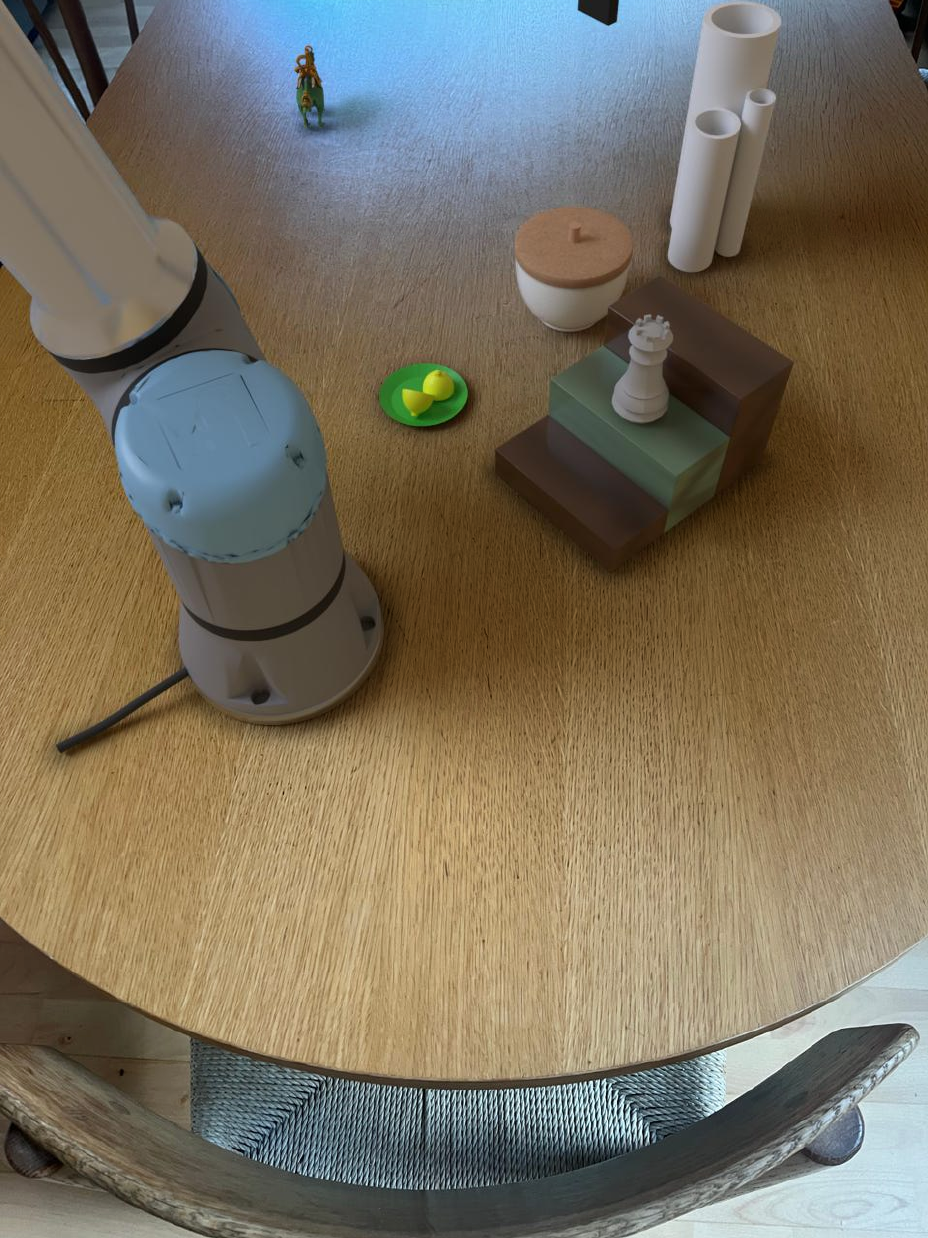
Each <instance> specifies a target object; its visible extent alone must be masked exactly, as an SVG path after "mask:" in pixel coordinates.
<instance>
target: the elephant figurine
mask: <svg viewBox="0 0 928 1238" xmlns="http://www.w3.org/2000/svg"><path fill="white" fill-rule="evenodd" d="M313 50H314V48H313V46H311V45H310V44H307V45H305V46H304V54H300V55H298V56H297V57H296V59H295V63H296V64H297V66H295V67H294V72H295V73H296V74H297V75H298V74H299V75H298V76H297V83H296V88H295V89H296V92H295V93H296V95H295V98H296V104H297V108H298V109H299V110H298V111H299V113H300V114H301V116H302V118H303V126H304V127H305V128H306V130H309V127H310V126H311V125H312V122H309V119H308V118H307V113H312V111H313V108H315V109H316V112H317V119H318V121H317V125H318V128H319V130H321V129H322V127H325V125H326V122H323V121H322V117H323V113H324V111H326V108H325V94H324V87H323V85H322V83H323V80H322V78H321V77H320V76H319V73H318V70H317V66H316V65H315V61H316V59H315V52H314V51H313ZM301 60H305V63H303V64H301V62H300V61H301Z"/></svg>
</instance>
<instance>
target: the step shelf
mask: <svg viewBox="0 0 928 1238" xmlns="http://www.w3.org/2000/svg"><path fill="white" fill-rule="evenodd" d="M650 314H651V320H656V317H657V315H659V316H661V317H664V318H663V323H664V322H667V321H668V322H669V325H670V328H669V329H670V330H671V332H672V334H673V341H672V343H671V344H670V345H669V347H668V348H666V351H667V357H666V358H665V360H664V361H663V363H662V376H663V378H664V380H665V383H666V385H667V387H668V390H669V398H668V408H667V411H666V412H665V413H664V414H663V416H661V417H660V418H658V419H656V420H654V421H652V422H650V423H644V424H638V423H631V422H629V421H627V420H625V419H623V418H622V417H621V416H620V415H619V414H618V413H617V412H616V411H615V410H614V407H613V405H612V397H613V394H614V389H615V385H616V384H617V382H618V381H619V380H620V379H621V378H622V376H623V375H624V374H625V373H626V372H627V370H628V367H629V363H630V360H631V356H630V354H629V350H630V347H631V346H632V344H631V342H630V340H629V337H628V335H629V331H630V330H631V328H632V327H633V326H634V325H635V323H636V321H637V320H638V318H640V319H642V321H643V320H644V315H650ZM794 364H795V362H794V361H793V360H791V359H790V358H788V357H787V356H786V355H784V354H782V353H781V352H780V351H778V350H776V349H775V348H774V347H772V346H770V345H769V344H768V343H766V342H764V341H763V340H761V339H760V338H758V337H757V336H756V335H754V334H752V333H750V332H749V331H748V330H746V329H744V328H743V327H742V326H740V325H738V324H737V323H735V322H734V321H732V320H731V319H729V318H728V317H726V316H724V315H723V314H721V313H720V312H718V311H717V310H715V309H714V308H712V307H711V306H709V305H707V304H706V303H705V302H703V301H702V300H700V299H699V298H697V297H695V296H694V295H693V294H691V293H690V292H688V291H686V289H683V288H682V287H681V286H679V285H677V284H675V283H674V282H673V281H671V280H670V279H668V278H667V277H666V276H664V275H662V274H658V275H656V276H655V277H654V278H652V279H650V280H648V281H647V282H645V283H644V284H642V285H641V286H639V287H637V288H636V289H634V290H633V291H630V292H629V293H627V294H626V295H625V296H622V297H620V299H619V300H618V301H616V302H615V303H613V304H611V305H610V306H608V313H607V315H606V323H605V332H604V340H603V345H601V346H600V347H599V348H597V349H595V350H594V351H592V352H590V353H589V354H588V355H585V357H583V358H581V359H580V360H578V361H576V362H575V363H573V364H572V365H570V366H569V367H567V368H566V369H564V370H563V371H561V372H559V373H557V374H556V375H554V376H552V377H551V378H550V382H549V383H550V384H549V385H550V386H549V399H548V400H549V402H548V414H547V415H544V417H542V418H540V419H539V420H537V421H536V422H534V423H533V424H531V425H530V426H528V427H526V428H525V429H524V430H522V431H521V432H519V433H518V434H516V435H515V436H513V437H511V438H510V439H507V440H506V441H505V442H504V443H502V444H500V445H499V446H497V447H495V448H494V474H495V475H496V476H498V477H499V478H500V479H501V480H502V481H503V482H504V483H506V484H507V485H508V486H509V487H510V488H511V489H513V490H514V491H515V492H516V493H517V494H519V496H520V497H522V498H523V499H524V500H525V501H527V502H528V503H529V504H530V505H531V506H533V508H535V509H536V510H537V511H538V512H539V513H541V514H542V515H543V516H544V517H546V519H548V521H550V522H551V523H552V524H553V525H555V526H556V528H558V529H559V530H560V531H561V532H562V533H564V534H565V536H567V537H568V538H569V539H571V541H573V542H574V543H575V544H577V545H578V546H579V547H580V548H581V549H582V550H584V551H585V552H586V553H587V554H588V555H589V556H590V557H592V559H594V560H595V561H596V562H597V563H598V564H599V565H601V566H602V567H603V568H604V569H605V570H607V571H608V572H609V573H610V574H612V573H613V572H614V571H616V570H617V569H619V568H620V567H621V566H623V565H624V564H625V563H626V562H628V561H629V560H630V559H632V558H633V557H634V556H636V555H637V554H639V553H640V552H641V551H642V550H644V549H645V548H647V547H648V546H649V545H650V544H652V543H653V542H655V541H656V540H657V539H659V538H660V537H661V536H662V535H665V533H667V532H668V531H669V530H671V529H672V528H673V527H675V526H677V524H679V523H680V522H682V521H683V520H684V519H685V518H687V517H688V516H689V515H691V514H693V513H694V512H695V511H697V510H698V509H699V508H700V507H702V506H703V505H704V504H706V503H707V502H708V501H710V500H711V499H713V497H715V496H716V495H717V494H719V493H720V492H722V491H723V490H725V489H726V488H727V487H728V486H730V485H732V483H734V482H735V481H736V480H738V479H740V477H742V476H743V475H744V474H746V473H747V472H749V471H750V470H752V469H753V468H754V467H755V466H757V465H758V464H760V463H761V462H762V461H763V458H764V455H765V452H766V449H767V445H768V443H769V440H770V436H771V434H772V431H773V428H774V424H775V422H776V418H777V416H778V412H779V409H780V407H781V404H782V400H783V397H784V395H785V392H786V389H787V385H788V382H789V379H790V376H791V372H792V371H793V367H794Z"/></svg>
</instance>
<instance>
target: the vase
mask: <svg viewBox="0 0 928 1238" xmlns="http://www.w3.org/2000/svg"><path fill="white" fill-rule="evenodd" d="M781 25H782V18H781V15H780V14H779V13H778V12H777V11H776V10H775V9H773V8H771V7H769V6H767V5H765V4H762V3H758V2H754V1H748V0H747V1H746V0H731V1H724V2H720V3H717V4H714V5H712V6H710V7H709V8H707V10H706V11H705V12H704V15H703V18H702V24H701V30H700V36H699V42H698V49H697V54H696V61H695V65H694V72H693V77H692V84H691V91H690V97H689V103H688V109H687V115H686V119H685V127H684V132H683V139H682V145H681V152H680V158H679V164H678V169H677V174H676V175H677V176H676V181H675V187H674V194H673V200H672V206H671V212H670V219H669V225H670V228H671V232H670V239H669V240H670V241H669V244H668V245H669V246H668V251H667V259H668V262H669V263H670V265H672V266H673V267H674V268H675V269H677V270H679V271H682V272H685V273H699V272H703V271H704V270H705V269H706V270H707V268H709V267H710V266H711V264H712V262H713V258H714V253H715V252H716V253H717V254H718V255H720V256H722V257H726V258H731V257H735V256H737V255H738V254H739V253H740V252H741V251H740V250H741V246H742V243H743V239H744V238H743V237H744V234H745V230H746V226H747V222H748V218H749V214H750V209H751V206H752V205H751V204H752V200H753V197H754V192H755V188H756V184H757V179H758V176H759V171H760V167H761V163H762V159H763V155H764V150H765V146H766V143H767V137H768V133H769V129H770V125H771V121H772V118H773V113H774V108H775V104H776V100H777V95H776V93H775V92H774V91H772V90H771V89H768V88H767V86H768V82H769V77H770V73H771V69H772V64H773V59H774V56H775V51H776V46H777V43H778V39H779V38H778V37H779V34H780V30H781Z"/></svg>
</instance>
